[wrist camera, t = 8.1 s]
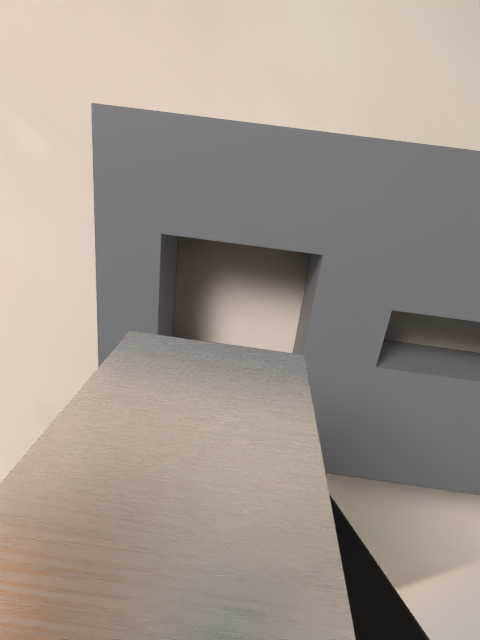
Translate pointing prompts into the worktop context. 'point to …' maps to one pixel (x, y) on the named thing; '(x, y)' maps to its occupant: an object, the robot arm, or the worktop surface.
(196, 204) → the socket board
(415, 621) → the robot arm
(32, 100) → the worktop surface
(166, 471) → the square peg
